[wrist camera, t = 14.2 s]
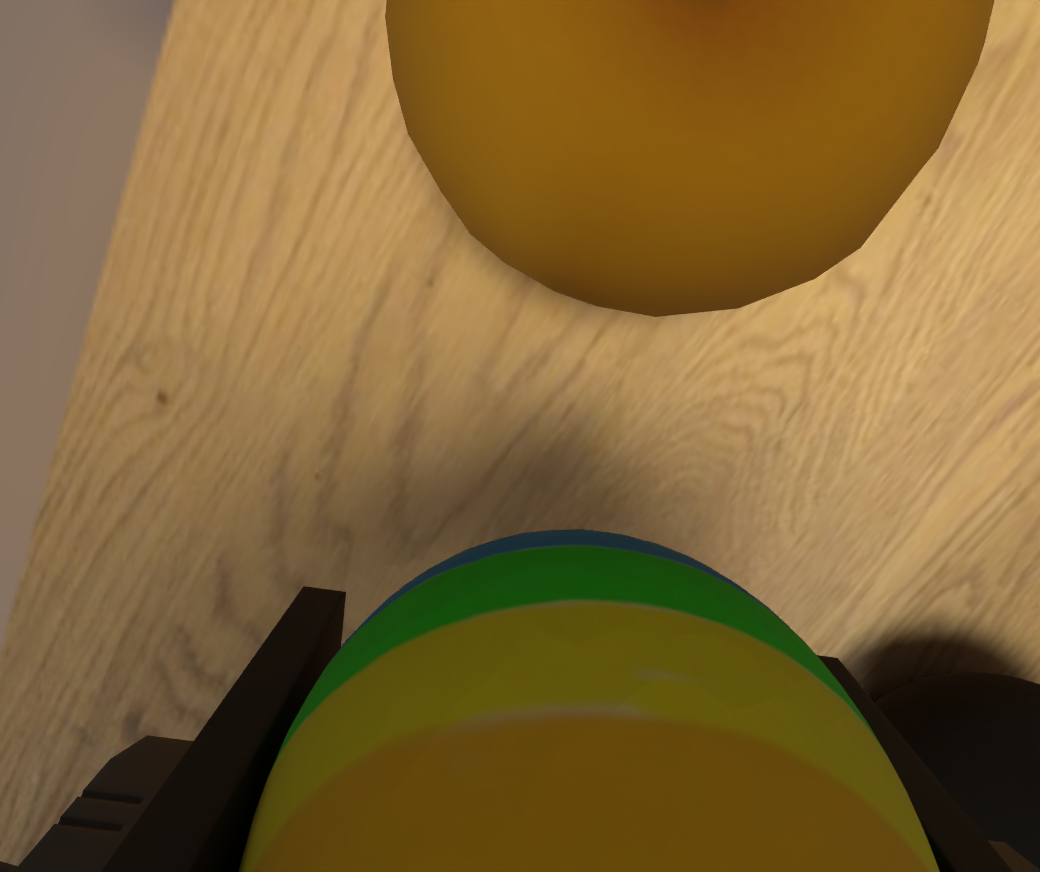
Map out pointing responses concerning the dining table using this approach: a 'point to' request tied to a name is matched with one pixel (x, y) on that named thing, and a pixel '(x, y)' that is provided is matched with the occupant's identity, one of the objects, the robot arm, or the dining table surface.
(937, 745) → the decorative ball
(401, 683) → the decorative egg
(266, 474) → the dining table surface
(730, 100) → the apple
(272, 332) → the dining table surface
